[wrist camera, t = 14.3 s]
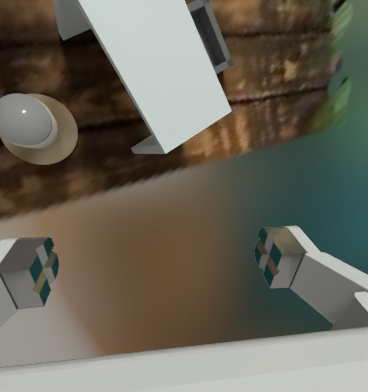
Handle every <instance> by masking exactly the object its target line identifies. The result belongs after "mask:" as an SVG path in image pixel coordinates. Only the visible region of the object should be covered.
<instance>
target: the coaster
mask: <svg viewBox="0 0 368 392" xmlns="http://www.w3.org/2000/svg"><path fill="white" fill-rule="evenodd" d="M25 95H28V96H31V97H33V98H36V99H38V100H39V101H41V102H42V103H43V104H45V105H46V106H47V108H48V109H49V110H50V112H51V113H52V115H53V116H54V118H55V119H56V121H57V123H58V124H59V127H60V132H61V134H60V138H59V140H58V142H57V143H56V144H55V145H54V146H52V147H50V148H47V149H36V148H28V147H21V146H18V145H15V144H13V143H11V142H9V141H8V140H7V139H5V138H4V137H3V136H2V135H1V134H0V137H1V139H2V141H3V143H4V145H5V146H6V147H7V149H8V150H9V151H10V152H11V153H13V154H14V155H15V156H16V157H18V158H20V159H22V160H24V161H26V162H29V163H33V164H38V165H48V164H53V163H57V162H59V161H61V160H63V159H65V158H66V157H67V156H68V155H69V154H71V152H72V151H73V149H74V148H75V146H76V143H77V139H78V129H77V125H76V122H75V120H74V118H73V116H72V114H71V113H70V112H69V110H68V109H67V108H66V107H65V106H64V105H63V104H61V103H60V102H58V101H57V100H55V99H53V98H51V97H48V96H45V95H41V94H25Z"/></svg>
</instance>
